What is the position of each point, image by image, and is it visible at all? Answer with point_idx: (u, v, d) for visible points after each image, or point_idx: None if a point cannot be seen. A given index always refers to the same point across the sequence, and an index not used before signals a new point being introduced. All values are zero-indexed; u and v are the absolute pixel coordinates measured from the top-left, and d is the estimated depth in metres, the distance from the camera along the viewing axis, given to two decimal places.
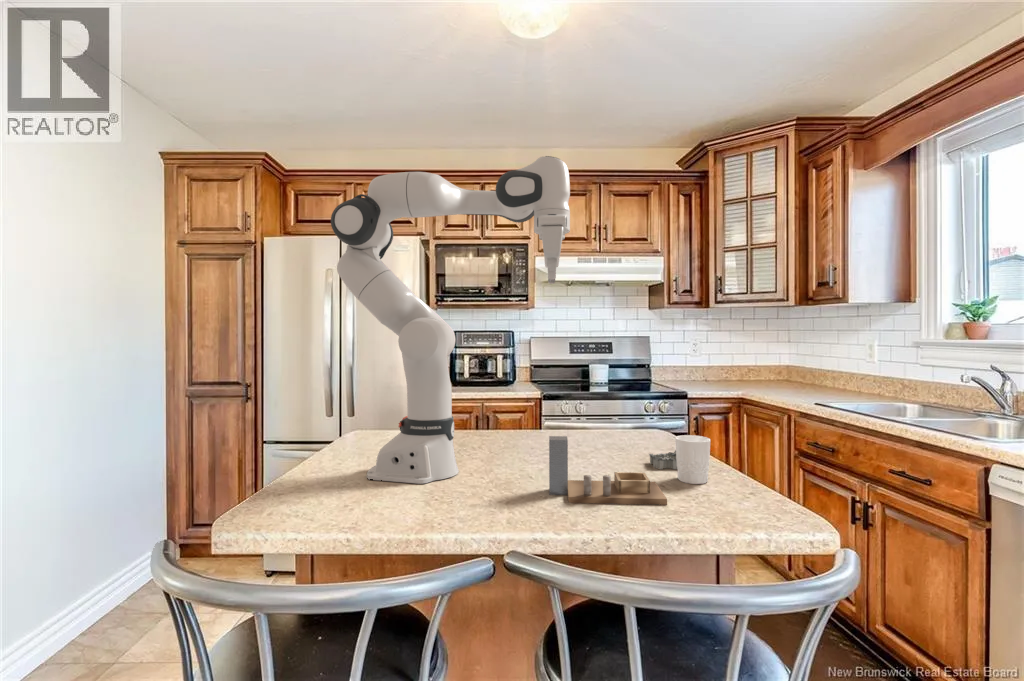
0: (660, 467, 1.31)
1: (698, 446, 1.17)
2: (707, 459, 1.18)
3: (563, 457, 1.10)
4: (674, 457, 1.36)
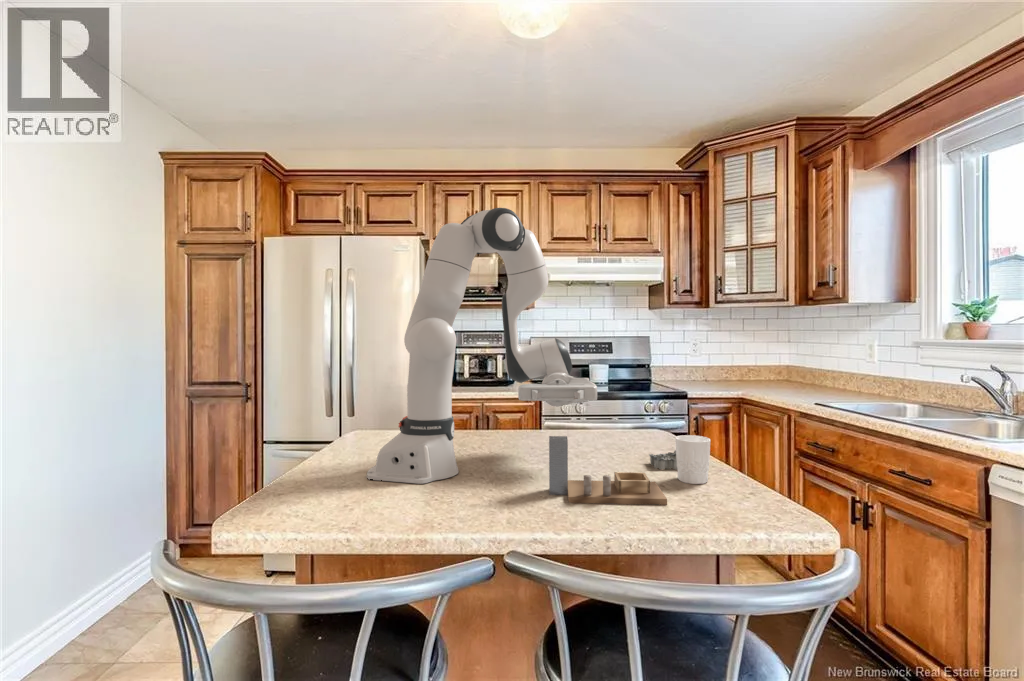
0: (662, 468, 1.30)
1: (698, 446, 1.17)
2: (707, 459, 1.18)
3: (563, 457, 1.10)
4: (674, 457, 1.36)
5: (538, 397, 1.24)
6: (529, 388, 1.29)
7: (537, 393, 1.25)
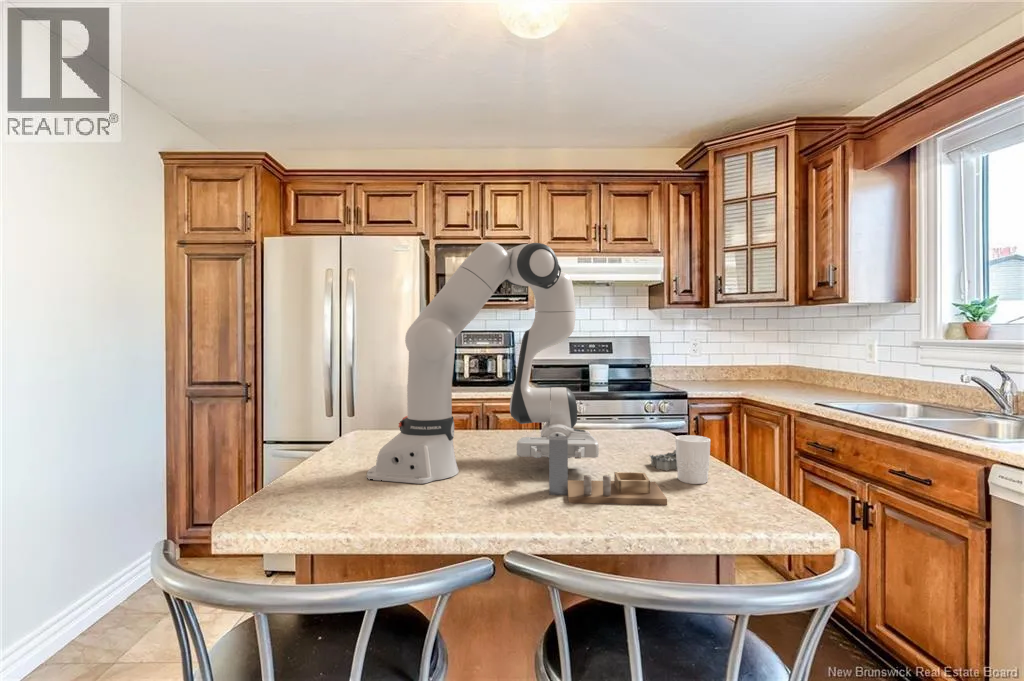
0: (665, 468, 1.29)
1: (698, 446, 1.17)
2: (707, 459, 1.18)
3: (563, 457, 1.10)
4: (674, 457, 1.36)
5: (537, 456, 1.20)
6: (528, 444, 1.25)
7: (536, 451, 1.20)
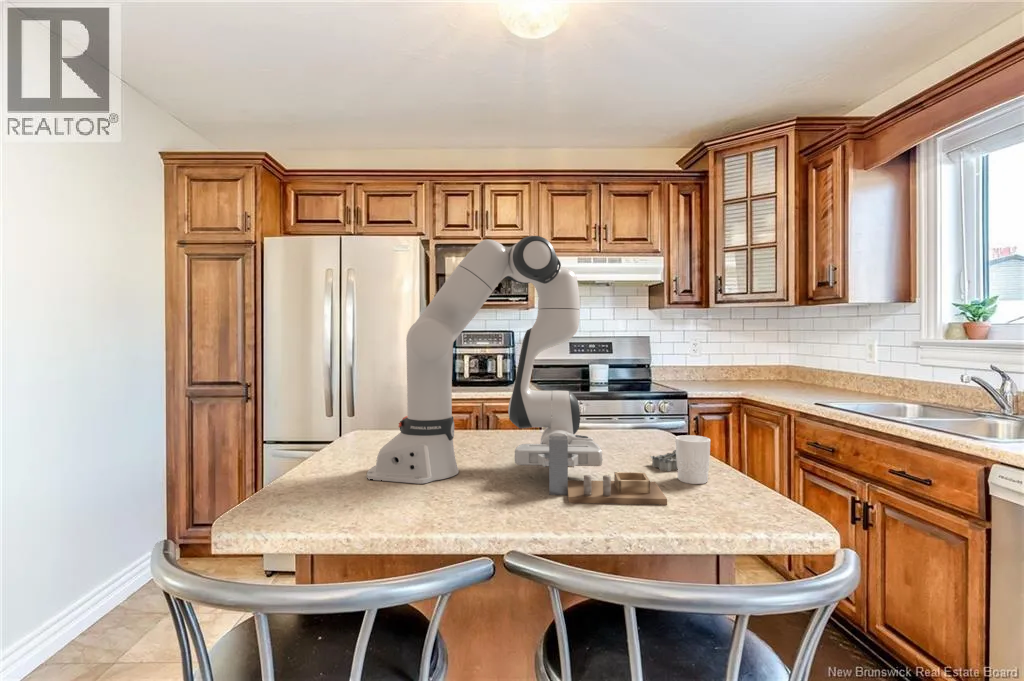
0: (668, 469, 1.29)
1: (698, 446, 1.17)
2: (707, 459, 1.18)
3: (563, 457, 1.10)
4: (673, 458, 1.35)
5: (546, 464, 1.11)
6: (527, 451, 1.16)
7: (544, 460, 1.12)
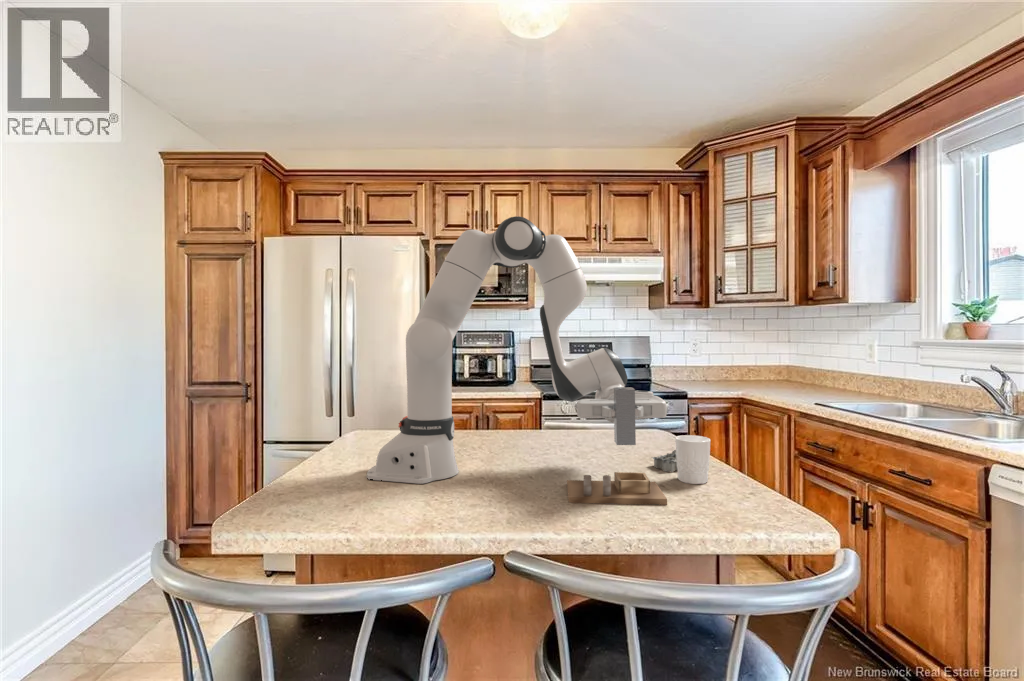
0: (672, 470, 1.28)
1: (698, 446, 1.17)
2: (707, 459, 1.18)
3: (630, 407, 1.09)
4: (673, 458, 1.35)
5: (612, 415, 1.10)
6: (590, 404, 1.15)
7: (611, 411, 1.10)
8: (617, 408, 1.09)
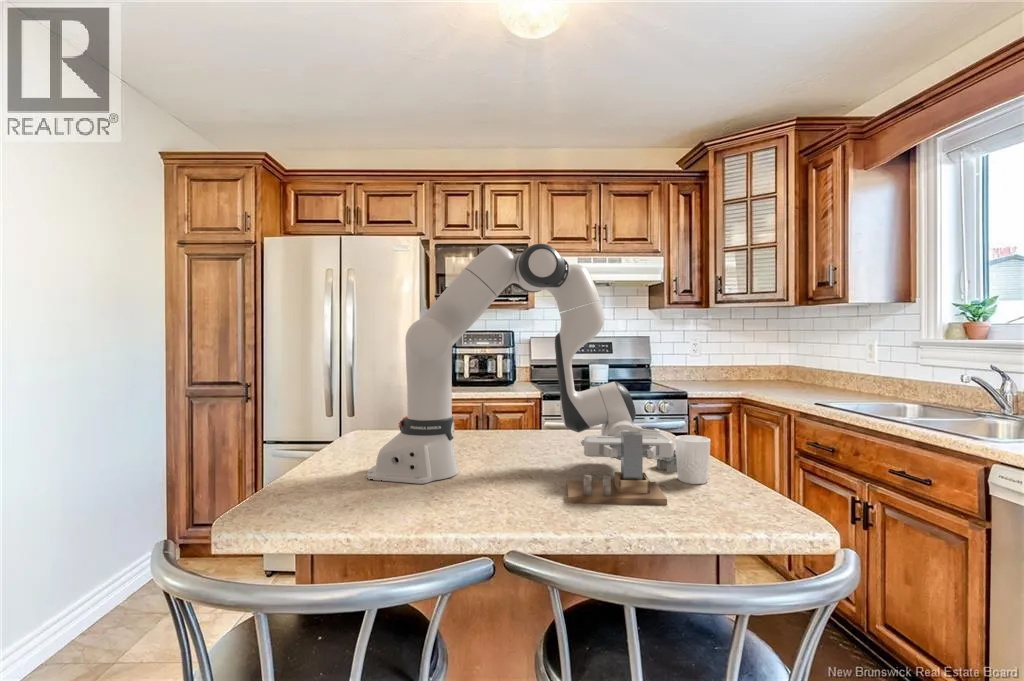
0: None
1: (698, 446, 1.17)
2: (707, 459, 1.18)
3: (637, 452, 1.09)
4: None
5: (614, 456, 1.10)
6: (597, 443, 1.15)
7: (613, 451, 1.10)
8: (624, 453, 1.09)
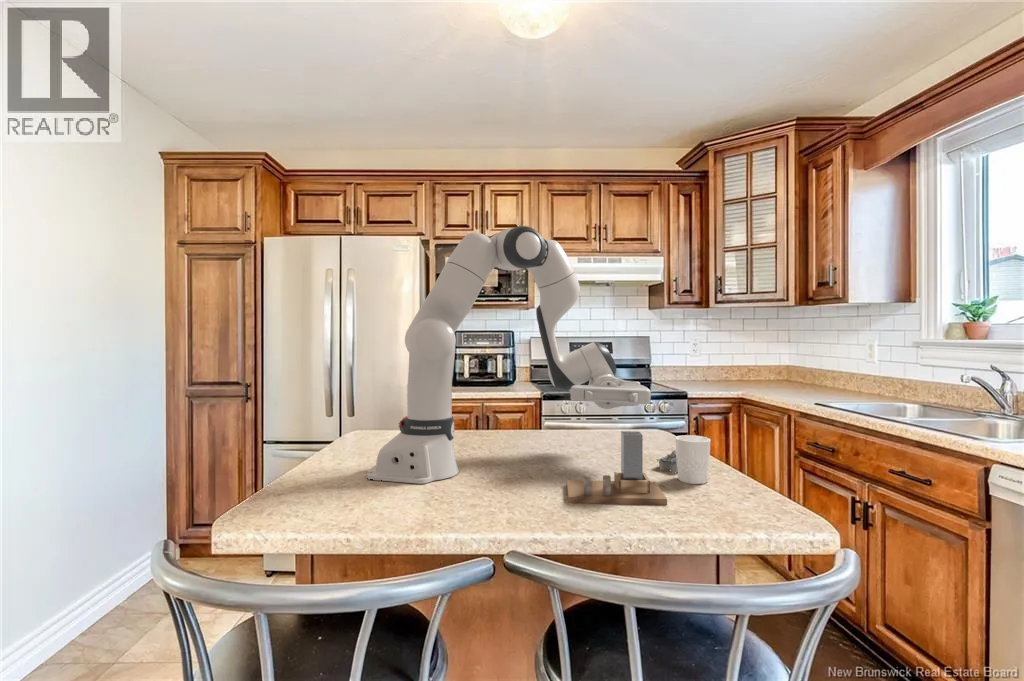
0: None
1: (698, 446, 1.17)
2: (707, 459, 1.18)
3: (637, 452, 1.09)
4: None
5: (593, 398, 1.24)
6: (582, 389, 1.29)
7: (592, 394, 1.24)
8: (624, 453, 1.09)
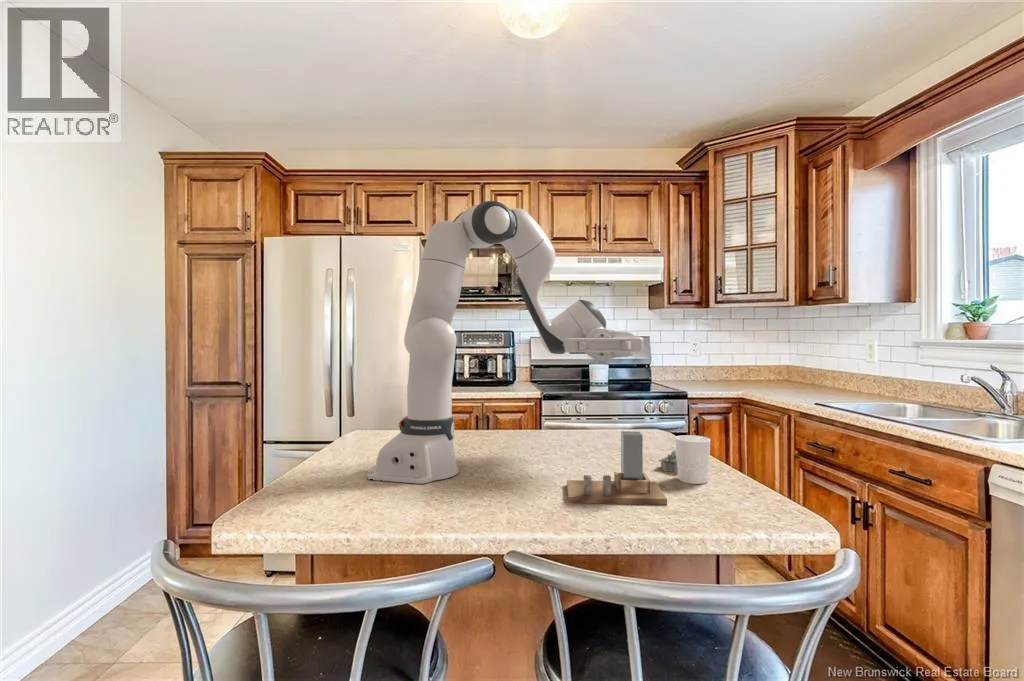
0: None
1: (698, 446, 1.17)
2: (707, 459, 1.18)
3: (637, 452, 1.09)
4: None
5: (586, 347, 1.25)
6: (576, 340, 1.30)
7: (585, 343, 1.25)
8: (624, 453, 1.09)
